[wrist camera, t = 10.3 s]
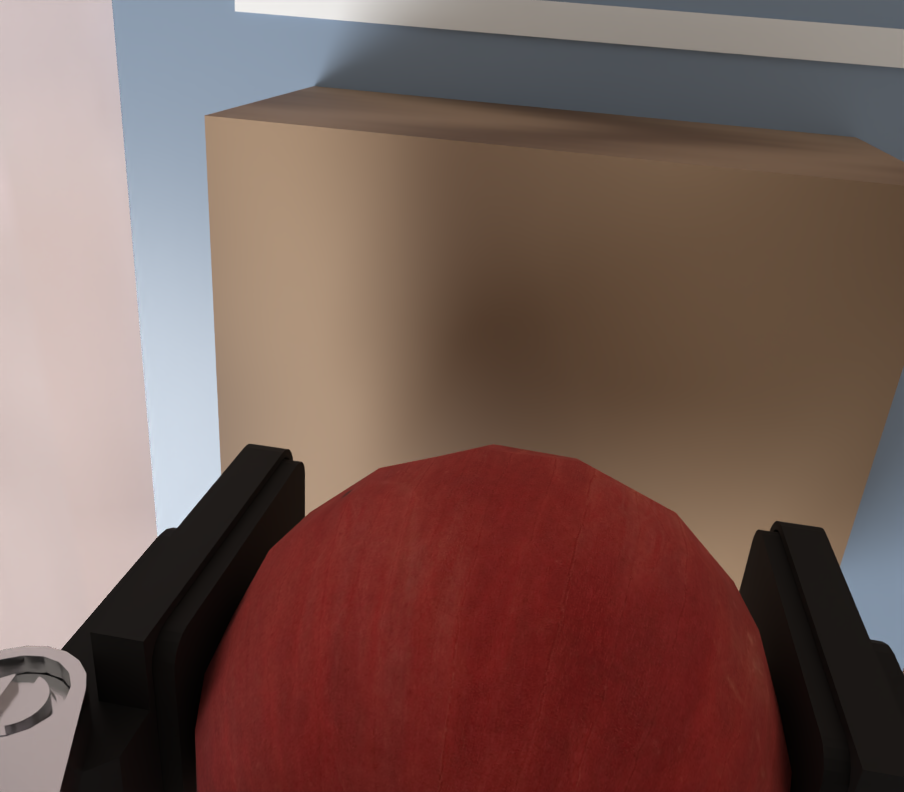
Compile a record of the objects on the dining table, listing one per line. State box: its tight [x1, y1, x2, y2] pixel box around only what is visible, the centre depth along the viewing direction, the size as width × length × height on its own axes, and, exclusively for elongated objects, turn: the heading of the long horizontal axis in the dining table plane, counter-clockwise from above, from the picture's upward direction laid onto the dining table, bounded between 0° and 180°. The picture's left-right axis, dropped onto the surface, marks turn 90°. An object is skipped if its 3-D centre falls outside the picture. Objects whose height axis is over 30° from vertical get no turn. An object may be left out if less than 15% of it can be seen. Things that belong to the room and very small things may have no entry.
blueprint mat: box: [112, 0, 904, 671], centre depth 18 cm, size 18×16×1 cm
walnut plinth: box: [204, 86, 904, 591], centre depth 16 cm, size 10×10×5 cm
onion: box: [195, 444, 792, 792], centre depth 9 cm, size 6×6×8 cm
